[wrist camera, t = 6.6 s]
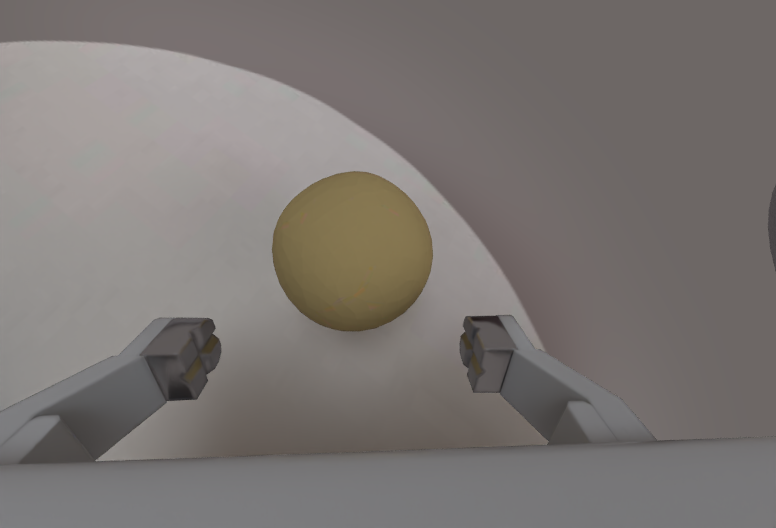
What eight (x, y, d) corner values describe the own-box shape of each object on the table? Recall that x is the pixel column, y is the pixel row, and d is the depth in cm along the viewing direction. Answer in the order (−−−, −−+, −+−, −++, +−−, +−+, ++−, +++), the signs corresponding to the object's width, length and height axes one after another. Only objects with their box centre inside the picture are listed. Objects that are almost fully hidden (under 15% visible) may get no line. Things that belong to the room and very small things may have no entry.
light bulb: (290, 276, 19) (209, 198, 9) (371, 223, 20) (373, 109, 11) (346, 360, 18) (320, 371, 8) (429, 298, 19) (489, 245, 9)
